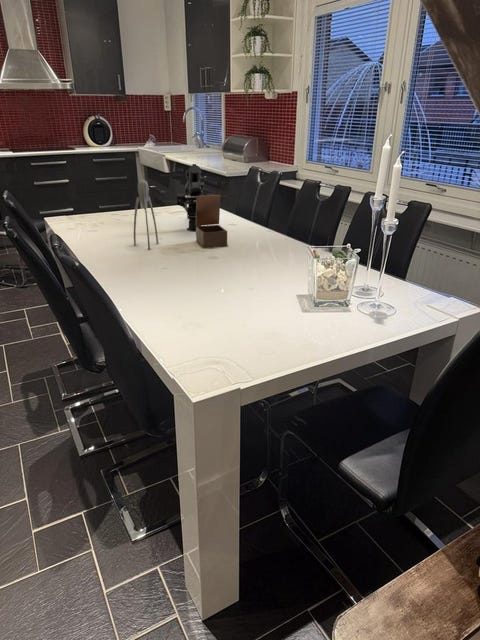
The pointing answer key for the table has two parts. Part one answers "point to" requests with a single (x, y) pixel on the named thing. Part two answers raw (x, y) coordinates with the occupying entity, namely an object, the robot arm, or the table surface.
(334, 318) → the table surface
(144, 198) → the grey three-legged stand fixture
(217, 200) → the door
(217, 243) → the walnut box
